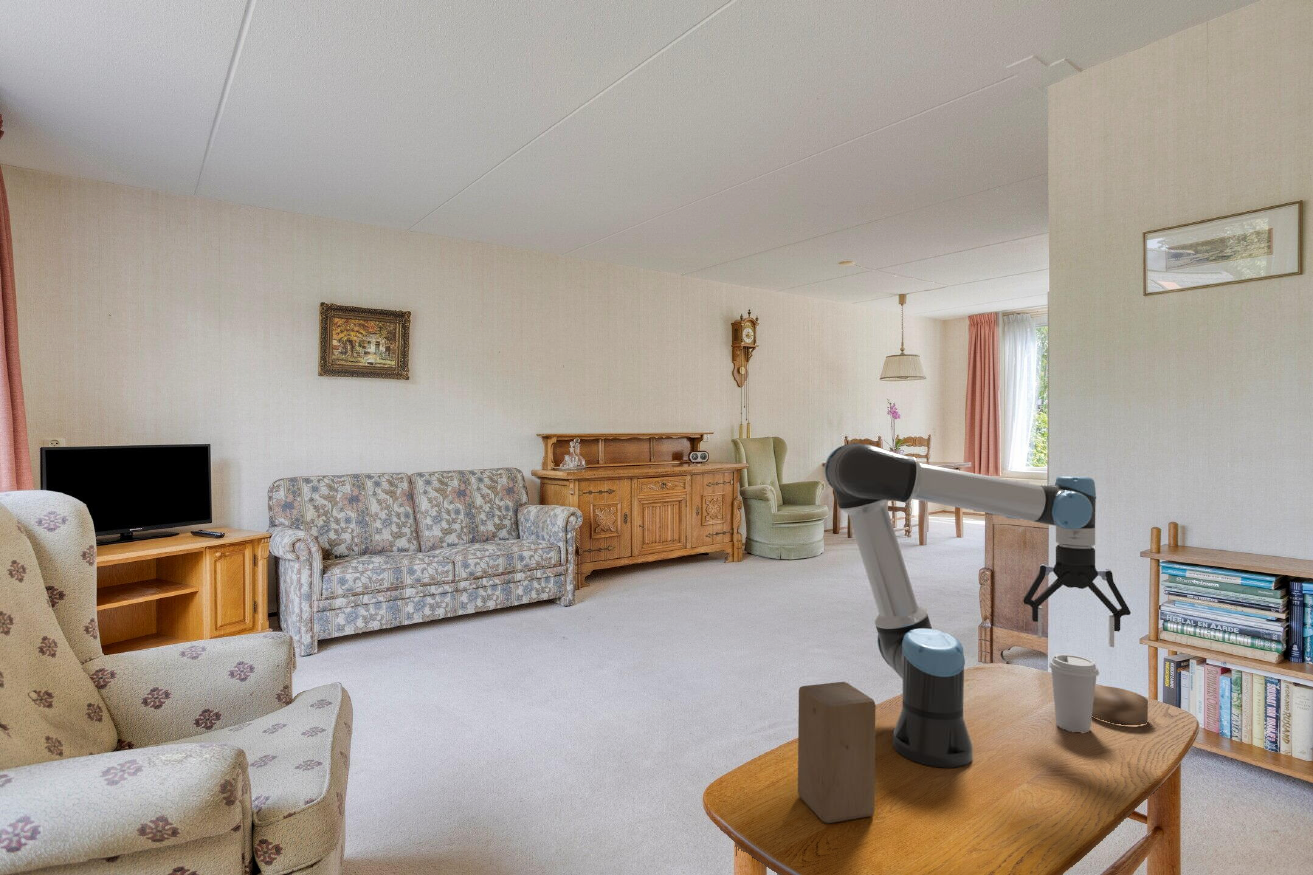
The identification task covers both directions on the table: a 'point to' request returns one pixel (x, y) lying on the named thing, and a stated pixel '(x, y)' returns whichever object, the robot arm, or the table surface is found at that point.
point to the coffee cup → (1073, 691)
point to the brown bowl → (1119, 706)
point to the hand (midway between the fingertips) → (1074, 640)
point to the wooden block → (836, 751)
